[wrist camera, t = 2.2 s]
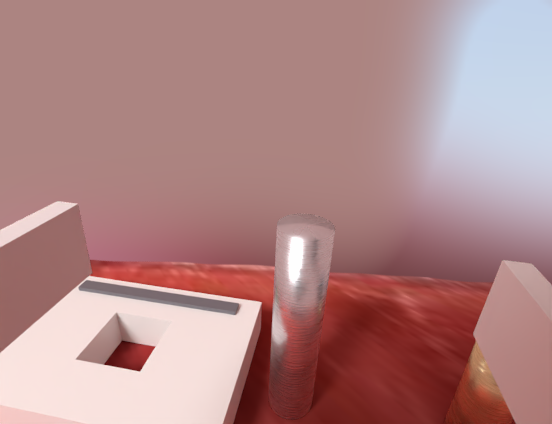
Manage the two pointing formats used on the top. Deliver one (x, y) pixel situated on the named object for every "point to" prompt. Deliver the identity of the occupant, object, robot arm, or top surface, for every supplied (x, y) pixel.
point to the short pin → (478, 396)
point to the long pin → (298, 310)
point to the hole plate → (123, 382)
